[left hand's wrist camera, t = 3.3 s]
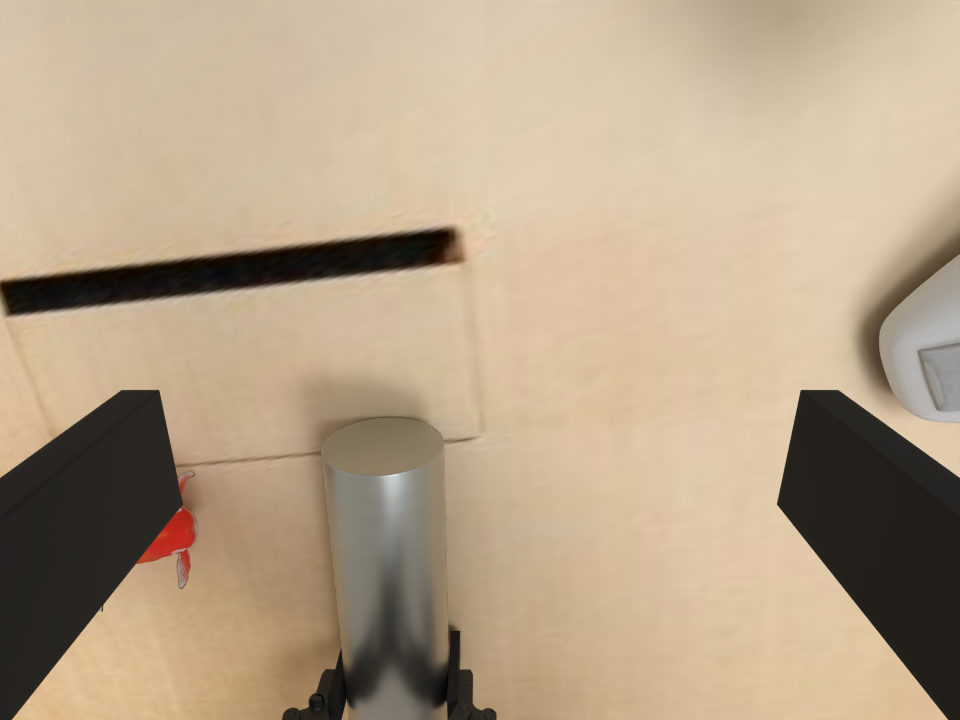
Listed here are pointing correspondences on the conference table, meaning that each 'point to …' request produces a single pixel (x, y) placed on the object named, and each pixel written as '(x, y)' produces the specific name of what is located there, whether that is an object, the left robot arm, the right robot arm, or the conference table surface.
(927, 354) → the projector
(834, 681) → the conference table surface
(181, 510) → the fish
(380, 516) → the rod
